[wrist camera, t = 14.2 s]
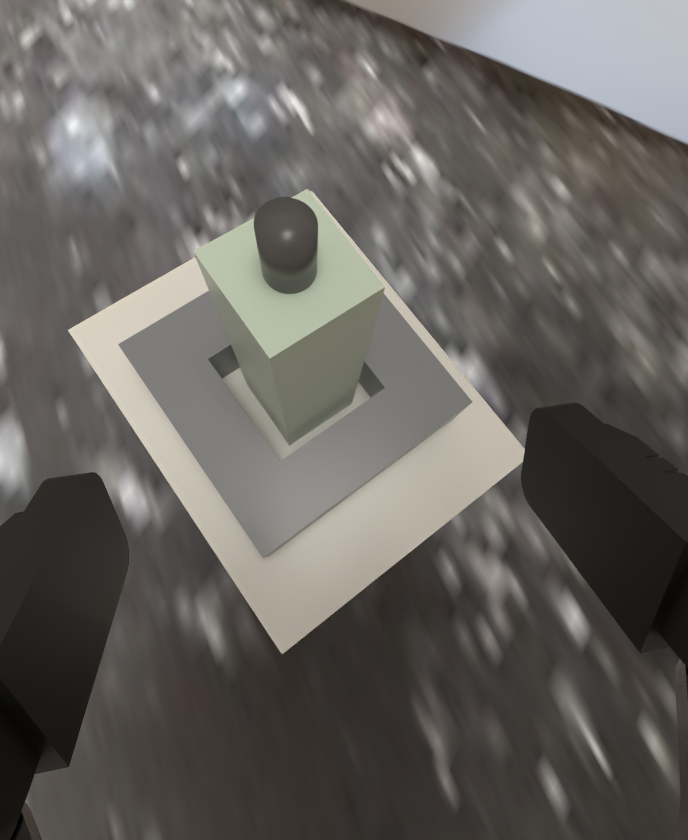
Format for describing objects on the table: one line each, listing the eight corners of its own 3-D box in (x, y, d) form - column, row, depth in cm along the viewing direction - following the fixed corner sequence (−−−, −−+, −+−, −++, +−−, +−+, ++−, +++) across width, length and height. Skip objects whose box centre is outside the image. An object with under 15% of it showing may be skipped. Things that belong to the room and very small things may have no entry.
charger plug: (352, 403, 25) (397, 245, 12) (289, 445, 25) (262, 326, 11) (309, 346, 26) (307, 134, 13) (247, 385, 25) (173, 203, 12)
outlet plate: (522, 459, 26) (558, 444, 22) (283, 649, 23) (277, 671, 19) (311, 202, 30) (311, 150, 26) (76, 337, 26) (36, 302, 23)
